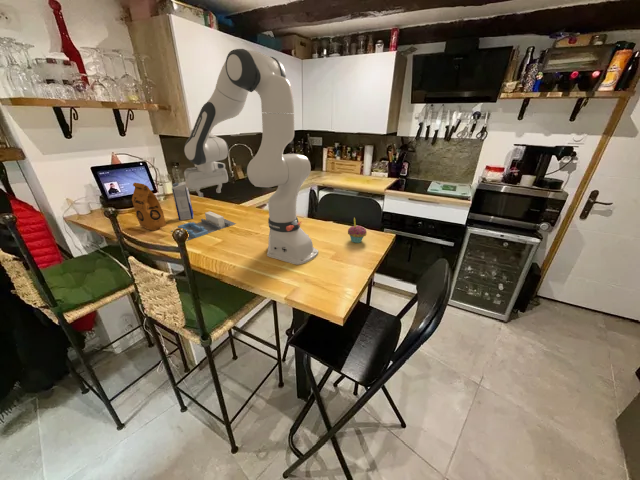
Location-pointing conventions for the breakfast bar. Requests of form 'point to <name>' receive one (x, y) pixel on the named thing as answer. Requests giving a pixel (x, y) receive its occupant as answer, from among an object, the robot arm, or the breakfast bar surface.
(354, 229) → the cupcake
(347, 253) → the breakfast bar surface
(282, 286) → the breakfast bar surface
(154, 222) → the coffee package
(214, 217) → the light grey block
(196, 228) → the duct board
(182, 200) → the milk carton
